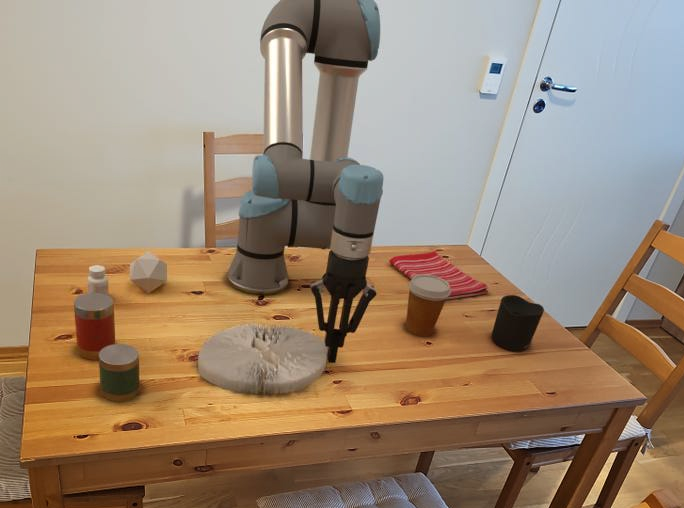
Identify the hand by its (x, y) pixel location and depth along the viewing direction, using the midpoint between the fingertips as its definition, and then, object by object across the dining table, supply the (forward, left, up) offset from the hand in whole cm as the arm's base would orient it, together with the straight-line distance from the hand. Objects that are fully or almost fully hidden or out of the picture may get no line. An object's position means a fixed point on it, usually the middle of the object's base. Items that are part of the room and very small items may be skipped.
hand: (331, 359), depth 131 cm
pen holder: (-16, +44, -2) cm, 47 cm away
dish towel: (-48, +34, -2) cm, 59 cm away
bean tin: (+13, -40, -2) cm, 42 cm away
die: (-29, -41, -2) cm, 50 cm away
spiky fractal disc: (0, -14, -2) cm, 14 cm away
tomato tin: (0, -47, -2) cm, 47 cm away
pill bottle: (-21, -51, -2) cm, 55 cm away
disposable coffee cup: (-19, +23, -2) cm, 30 cm away
